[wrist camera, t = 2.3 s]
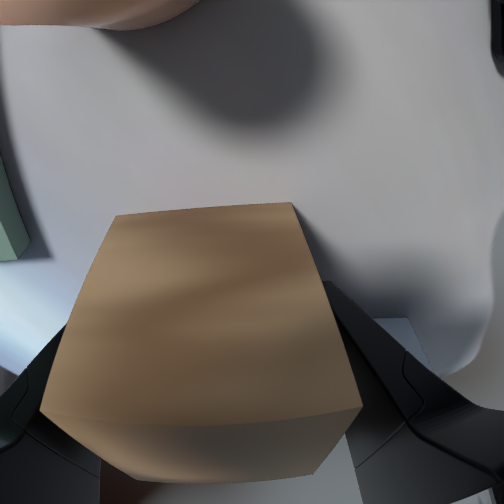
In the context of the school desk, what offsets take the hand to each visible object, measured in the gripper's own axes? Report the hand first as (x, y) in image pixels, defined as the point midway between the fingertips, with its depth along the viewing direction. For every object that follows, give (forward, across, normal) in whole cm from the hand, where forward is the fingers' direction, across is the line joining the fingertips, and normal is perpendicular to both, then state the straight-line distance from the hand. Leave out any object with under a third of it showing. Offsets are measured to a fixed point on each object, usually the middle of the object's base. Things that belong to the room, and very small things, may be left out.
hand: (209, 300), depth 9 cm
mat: (+1, +13, -9) cm, 16 cm away
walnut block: (+1, 0, 0) cm, 1 cm away
